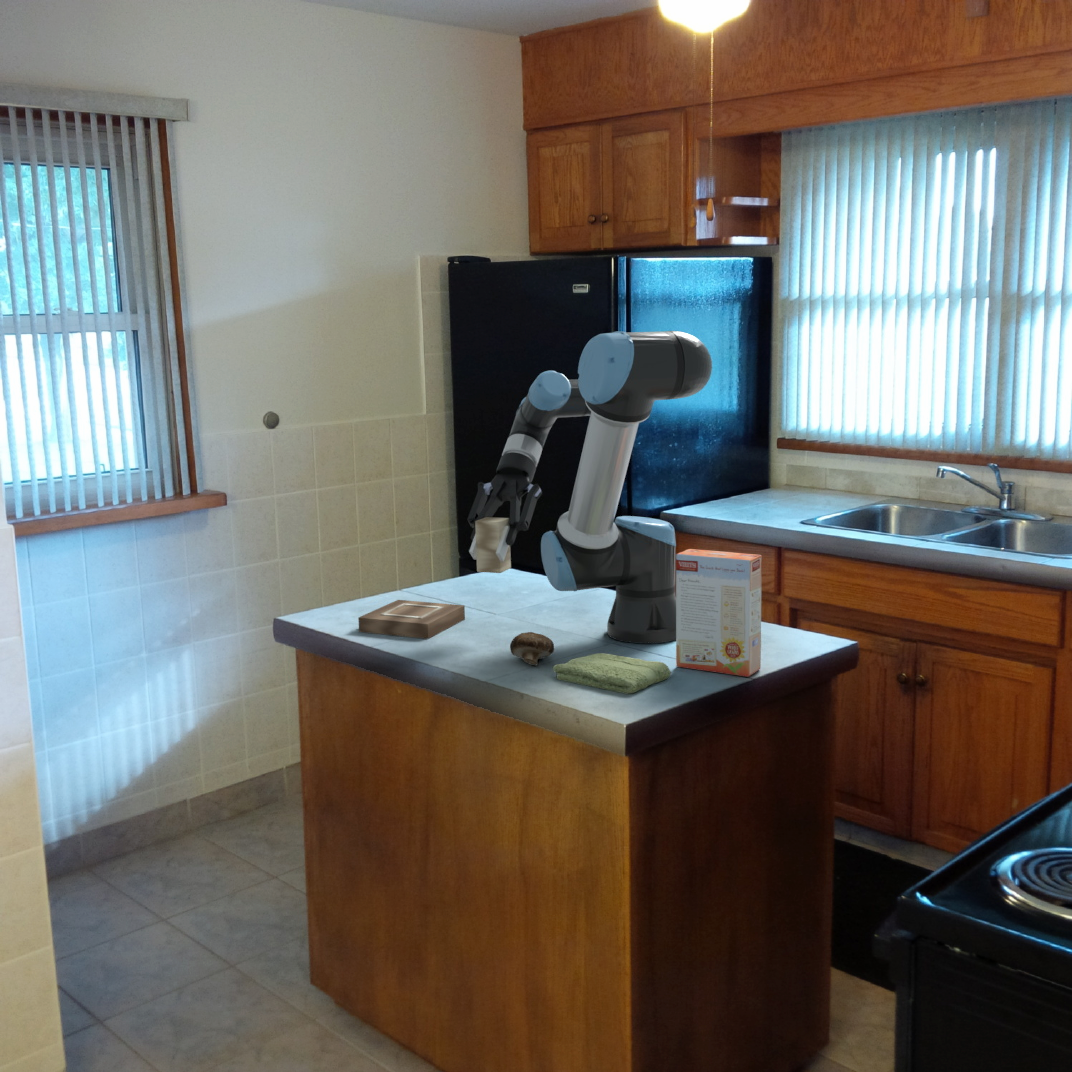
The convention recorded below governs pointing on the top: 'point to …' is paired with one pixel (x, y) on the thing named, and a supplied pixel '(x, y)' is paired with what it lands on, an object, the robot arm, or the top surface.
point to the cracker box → (718, 611)
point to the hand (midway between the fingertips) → (486, 556)
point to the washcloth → (612, 672)
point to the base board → (412, 619)
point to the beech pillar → (491, 545)
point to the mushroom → (531, 647)
